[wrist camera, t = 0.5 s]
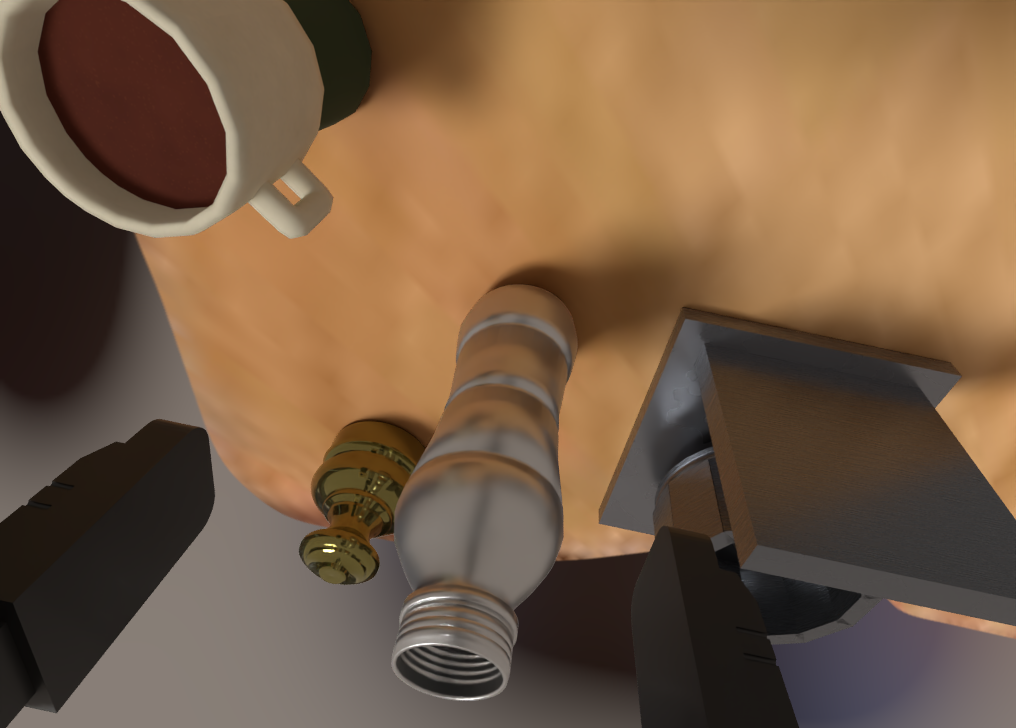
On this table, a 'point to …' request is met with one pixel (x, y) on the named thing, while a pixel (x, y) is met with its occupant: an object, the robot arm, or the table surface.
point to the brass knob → (358, 499)
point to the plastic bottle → (485, 497)
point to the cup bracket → (815, 477)
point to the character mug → (181, 104)
